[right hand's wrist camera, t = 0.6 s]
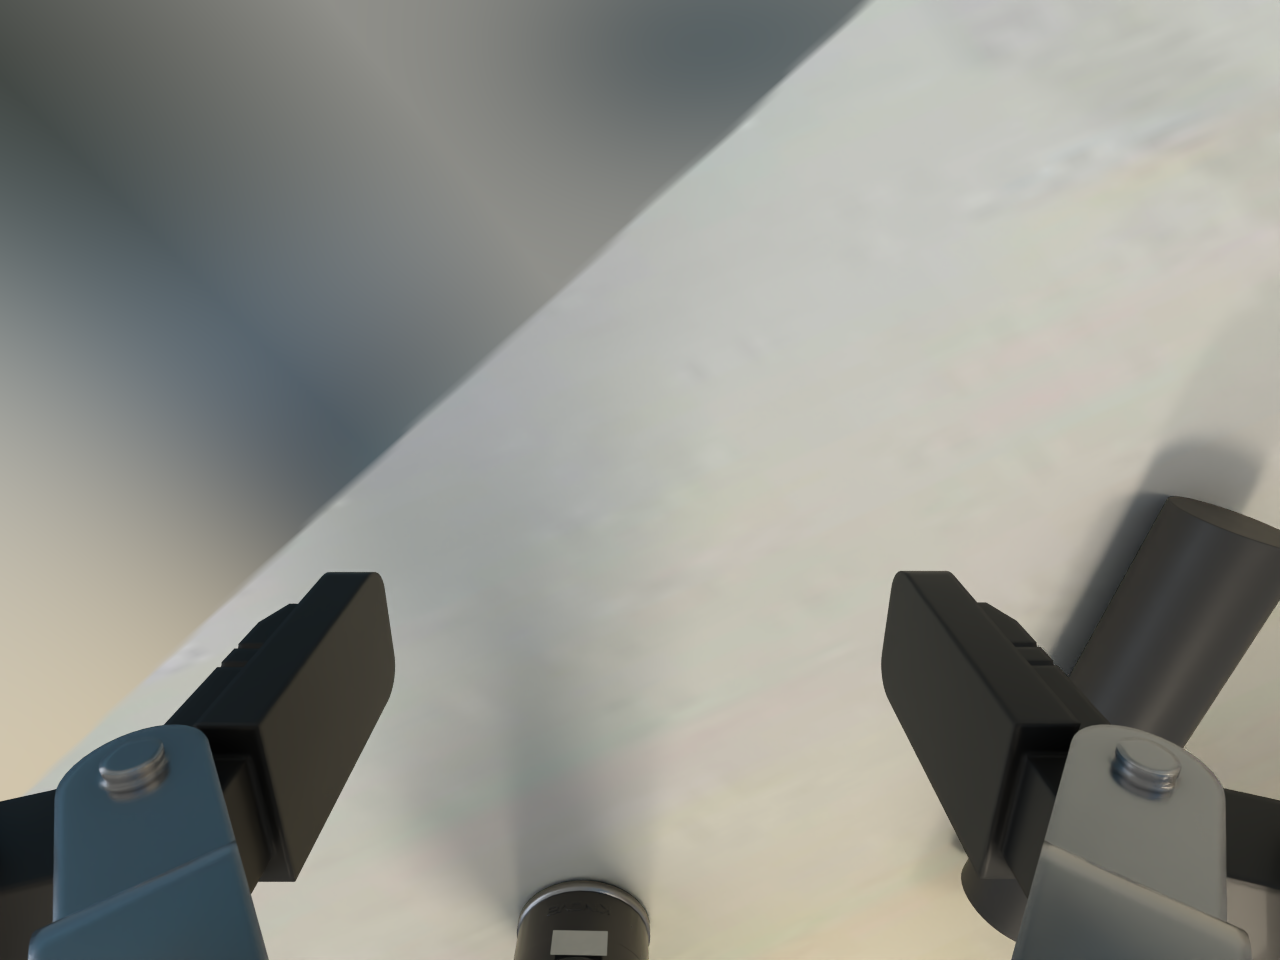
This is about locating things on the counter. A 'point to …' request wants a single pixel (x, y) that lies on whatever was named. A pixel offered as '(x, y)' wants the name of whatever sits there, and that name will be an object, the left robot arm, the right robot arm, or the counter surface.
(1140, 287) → the counter surface
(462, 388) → the counter surface
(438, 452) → the counter surface
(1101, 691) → the rod
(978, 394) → the counter surface
